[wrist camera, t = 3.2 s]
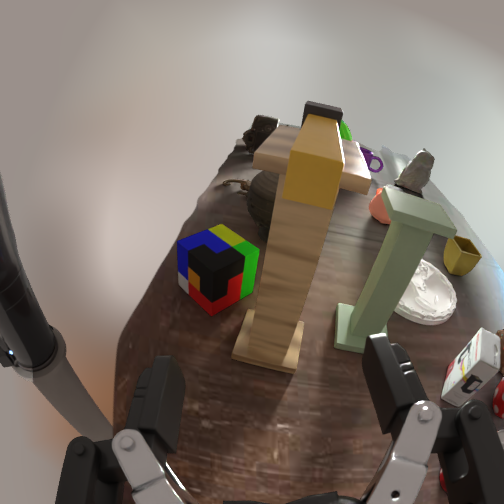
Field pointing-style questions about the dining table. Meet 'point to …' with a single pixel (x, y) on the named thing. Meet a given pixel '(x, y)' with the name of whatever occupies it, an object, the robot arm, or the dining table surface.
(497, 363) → the ink box
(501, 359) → the donut
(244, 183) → the seahorse
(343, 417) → the dining table surface
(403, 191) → the smartphone
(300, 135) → the yellow bar
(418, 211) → the green pedestal stand
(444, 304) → the medallion
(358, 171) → the wooden pedestal
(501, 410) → the decorative mushroom
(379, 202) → the sugar bowl
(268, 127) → the camera
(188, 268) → the puzzle toy
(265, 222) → the pot
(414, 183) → the figurine
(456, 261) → the flower pot
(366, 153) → the mug
